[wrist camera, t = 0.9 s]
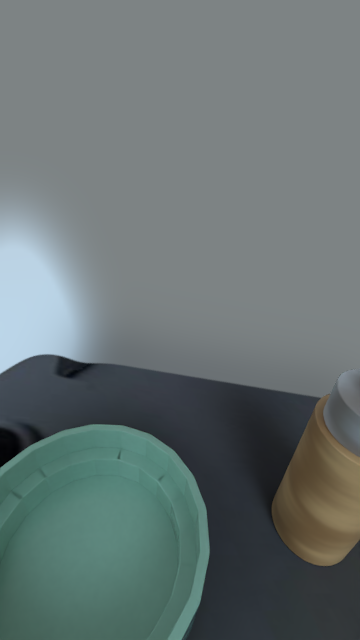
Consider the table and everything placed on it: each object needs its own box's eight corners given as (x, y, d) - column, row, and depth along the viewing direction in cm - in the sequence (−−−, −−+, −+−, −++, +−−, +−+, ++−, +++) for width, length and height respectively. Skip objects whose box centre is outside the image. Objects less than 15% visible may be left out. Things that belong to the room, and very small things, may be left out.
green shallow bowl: (237, 664, 16) (256, 638, 13) (-72, 824, 11) (-127, 830, 9) (165, 445, 26) (168, 408, 23) (-13, 488, 22) (-31, 449, 19)
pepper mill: (366, 550, 20) (498, 407, 13) (302, 579, 19) (410, 435, 11) (314, 476, 24) (392, 335, 17) (257, 495, 23) (316, 349, 15)
